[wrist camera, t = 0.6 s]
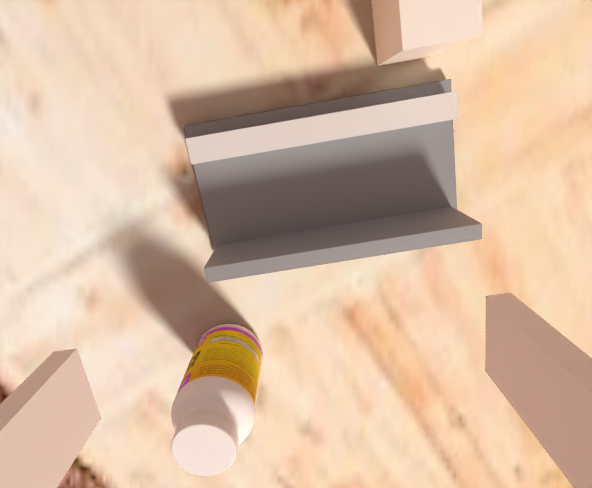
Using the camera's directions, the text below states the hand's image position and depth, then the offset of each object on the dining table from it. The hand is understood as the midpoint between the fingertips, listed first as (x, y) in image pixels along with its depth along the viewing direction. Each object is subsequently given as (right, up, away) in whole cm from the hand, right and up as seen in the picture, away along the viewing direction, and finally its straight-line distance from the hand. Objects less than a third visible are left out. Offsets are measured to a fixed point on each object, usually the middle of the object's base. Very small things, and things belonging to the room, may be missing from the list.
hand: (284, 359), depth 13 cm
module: (+9, +21, +19) cm, 30 cm away
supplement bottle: (-6, -7, +28) cm, 30 cm away
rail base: (+3, +10, +23) cm, 25 cm away
